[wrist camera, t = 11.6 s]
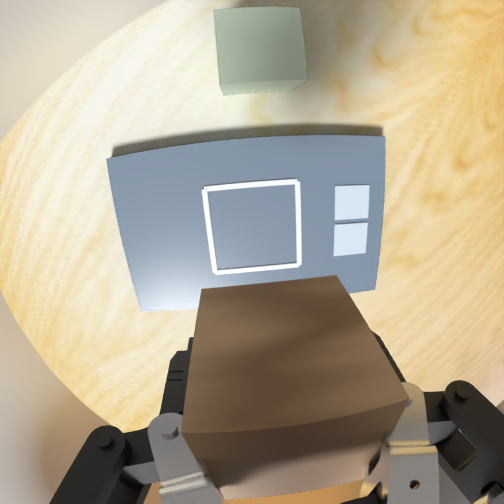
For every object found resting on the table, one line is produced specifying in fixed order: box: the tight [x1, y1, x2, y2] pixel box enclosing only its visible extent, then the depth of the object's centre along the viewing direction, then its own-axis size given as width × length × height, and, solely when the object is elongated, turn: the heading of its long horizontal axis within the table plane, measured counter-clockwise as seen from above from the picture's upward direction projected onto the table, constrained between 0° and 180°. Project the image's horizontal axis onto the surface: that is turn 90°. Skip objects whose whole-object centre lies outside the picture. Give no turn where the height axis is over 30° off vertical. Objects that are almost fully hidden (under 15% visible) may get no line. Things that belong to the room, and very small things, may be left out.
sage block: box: [214, 7, 308, 96], centre depth 16 cm, size 5×5×6 cm
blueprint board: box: [106, 135, 385, 312], centre depth 24 cm, size 22×14×1 cm, turn 94°
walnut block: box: [181, 275, 410, 499], centre depth 9 cm, size 5×5×6 cm
